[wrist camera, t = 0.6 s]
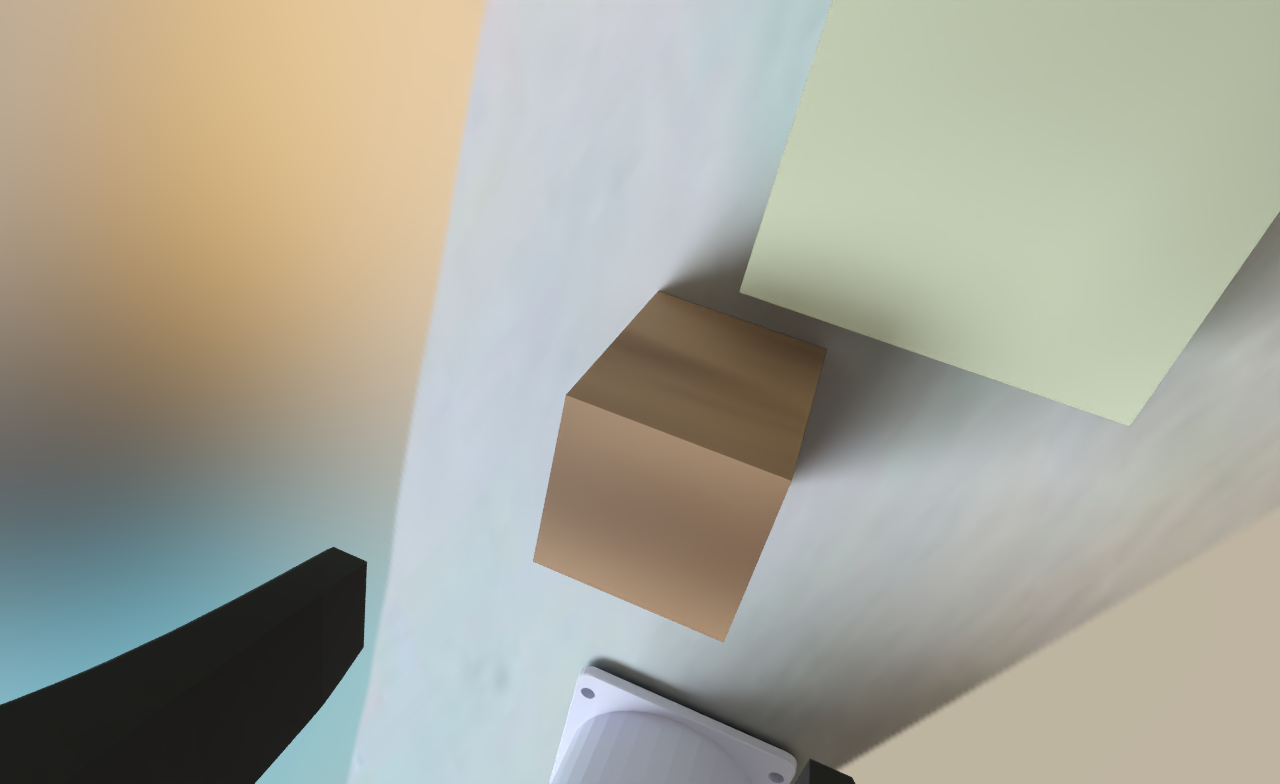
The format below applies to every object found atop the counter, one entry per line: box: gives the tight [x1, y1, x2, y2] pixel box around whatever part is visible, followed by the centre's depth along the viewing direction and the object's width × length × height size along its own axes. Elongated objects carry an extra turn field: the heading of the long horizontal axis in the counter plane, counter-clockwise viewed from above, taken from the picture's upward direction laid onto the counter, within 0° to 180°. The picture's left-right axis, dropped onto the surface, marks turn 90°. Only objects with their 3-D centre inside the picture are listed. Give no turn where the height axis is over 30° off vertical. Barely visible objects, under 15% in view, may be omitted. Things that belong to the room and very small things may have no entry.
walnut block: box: [533, 291, 827, 642], centre depth 18 cm, size 4×4×6 cm
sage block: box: [739, 0, 1280, 426], centre depth 14 cm, size 8×8×3 cm
